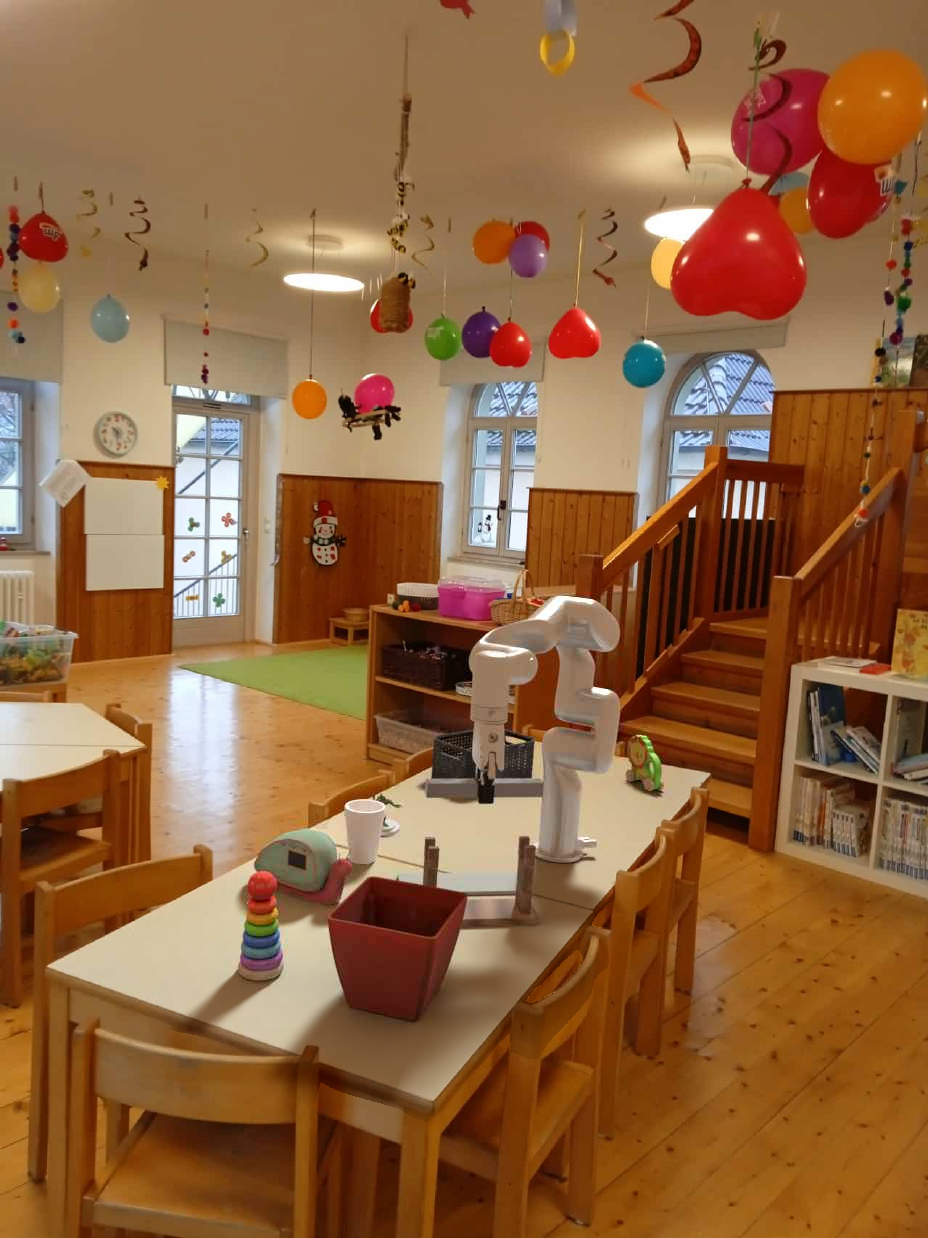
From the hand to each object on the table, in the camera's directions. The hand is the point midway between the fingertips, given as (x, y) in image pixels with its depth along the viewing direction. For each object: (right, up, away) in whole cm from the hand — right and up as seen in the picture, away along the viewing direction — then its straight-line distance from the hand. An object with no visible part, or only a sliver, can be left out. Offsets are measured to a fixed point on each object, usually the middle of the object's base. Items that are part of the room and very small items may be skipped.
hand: (483, 799), depth 191 cm
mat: (-4, -23, +18) cm, 29 cm away
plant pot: (-16, -29, -29) cm, 44 cm away
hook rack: (-2, -25, +3) cm, 25 cm away
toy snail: (-38, -22, +9) cm, 45 cm away
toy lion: (+51, -15, +100) cm, 114 cm away
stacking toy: (-40, -26, -24) cm, 54 cm away
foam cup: (-28, -20, +29) cm, 45 cm away
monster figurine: (-27, -17, +49) cm, 59 cm away
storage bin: (+1, -13, +96) cm, 96 cm away
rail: (0, +1, 0) cm, 1 cm away
